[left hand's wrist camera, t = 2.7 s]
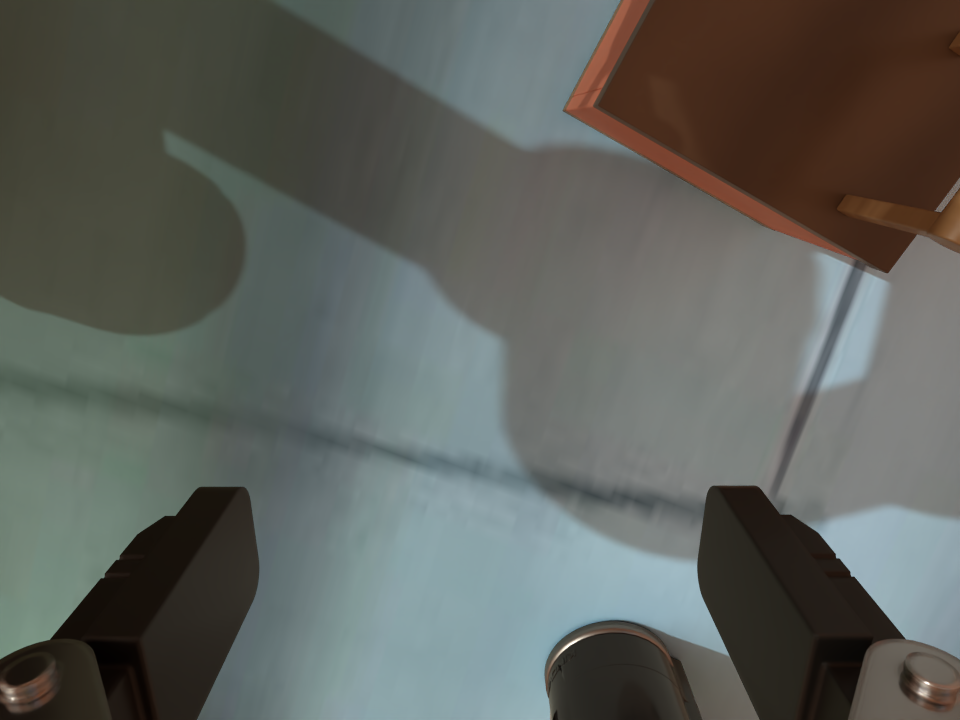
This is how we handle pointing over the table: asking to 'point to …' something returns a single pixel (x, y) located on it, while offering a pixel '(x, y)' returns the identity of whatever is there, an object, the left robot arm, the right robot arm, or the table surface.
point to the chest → (584, 111)
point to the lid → (808, 110)
